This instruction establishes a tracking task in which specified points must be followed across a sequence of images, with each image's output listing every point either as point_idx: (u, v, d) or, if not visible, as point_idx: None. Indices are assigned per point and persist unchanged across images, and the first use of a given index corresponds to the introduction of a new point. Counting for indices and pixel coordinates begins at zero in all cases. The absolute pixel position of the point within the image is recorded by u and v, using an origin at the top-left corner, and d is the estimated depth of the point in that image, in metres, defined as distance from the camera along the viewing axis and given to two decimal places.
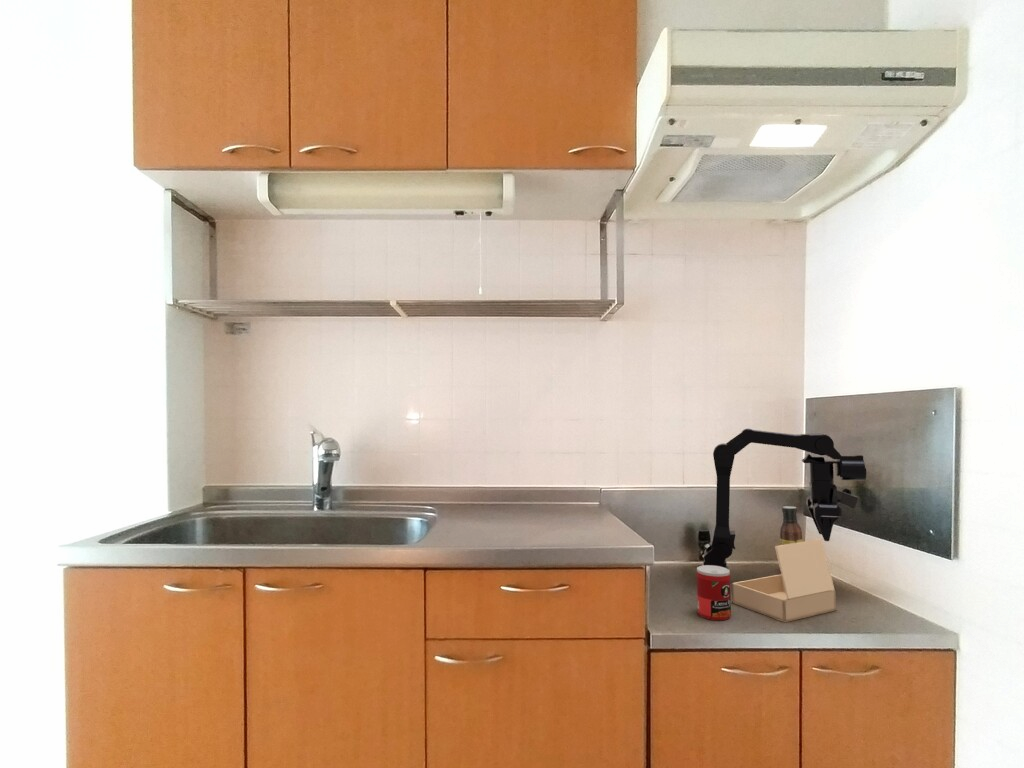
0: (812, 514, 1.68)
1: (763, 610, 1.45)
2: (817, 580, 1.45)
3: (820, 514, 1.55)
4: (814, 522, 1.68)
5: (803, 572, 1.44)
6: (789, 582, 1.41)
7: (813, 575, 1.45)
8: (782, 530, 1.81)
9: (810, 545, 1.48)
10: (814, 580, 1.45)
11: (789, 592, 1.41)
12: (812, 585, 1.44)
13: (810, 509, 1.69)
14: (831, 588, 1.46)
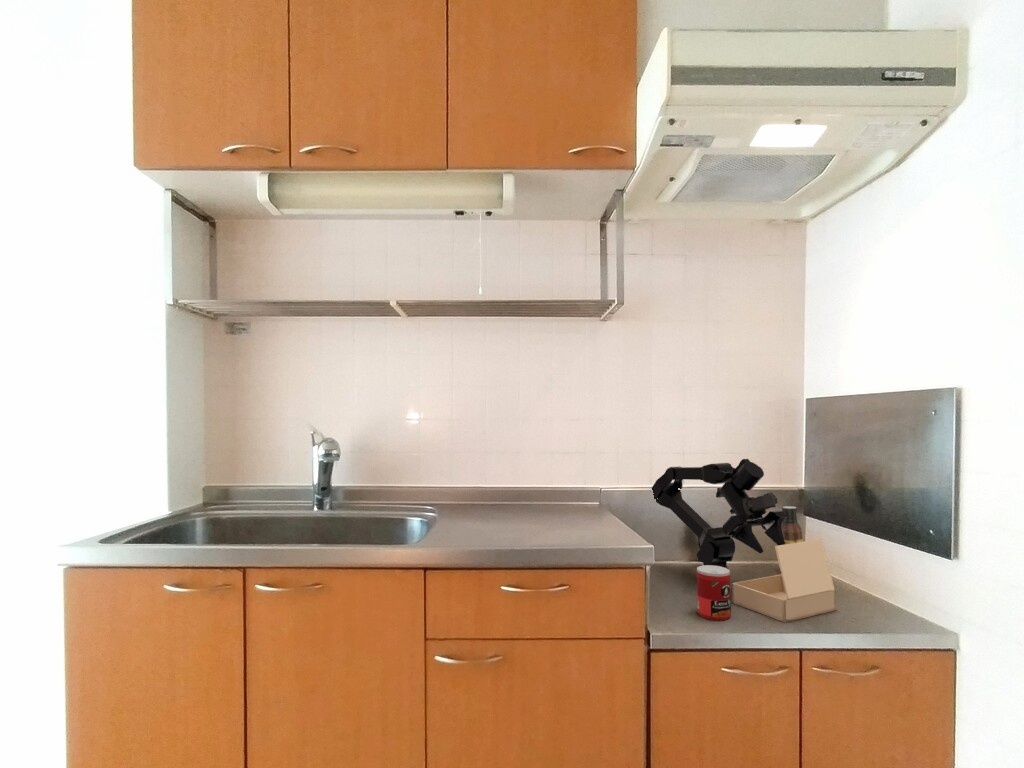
0: (769, 535, 1.60)
1: (763, 610, 1.45)
2: (817, 580, 1.45)
3: (726, 533, 1.56)
4: None
5: (803, 572, 1.44)
6: (789, 582, 1.41)
7: (813, 575, 1.45)
8: (782, 530, 1.81)
9: (810, 545, 1.48)
10: (814, 580, 1.45)
11: (789, 592, 1.41)
12: (812, 585, 1.44)
13: (765, 532, 1.62)
14: (831, 588, 1.46)
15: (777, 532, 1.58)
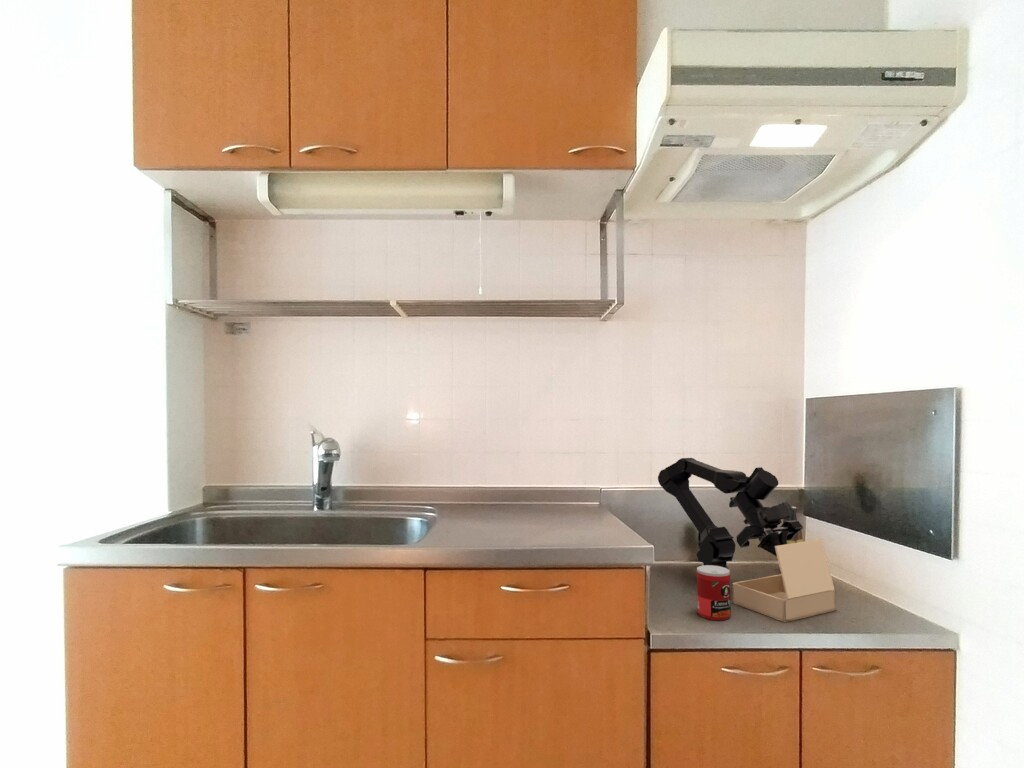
0: None
1: (763, 610, 1.45)
2: (817, 580, 1.45)
3: (740, 544, 1.51)
4: None
5: (803, 572, 1.44)
6: (789, 582, 1.41)
7: (813, 575, 1.45)
8: None
9: (810, 545, 1.48)
10: (814, 580, 1.45)
11: (789, 592, 1.41)
12: (812, 585, 1.44)
13: None
14: (831, 588, 1.46)
15: (782, 544, 1.52)
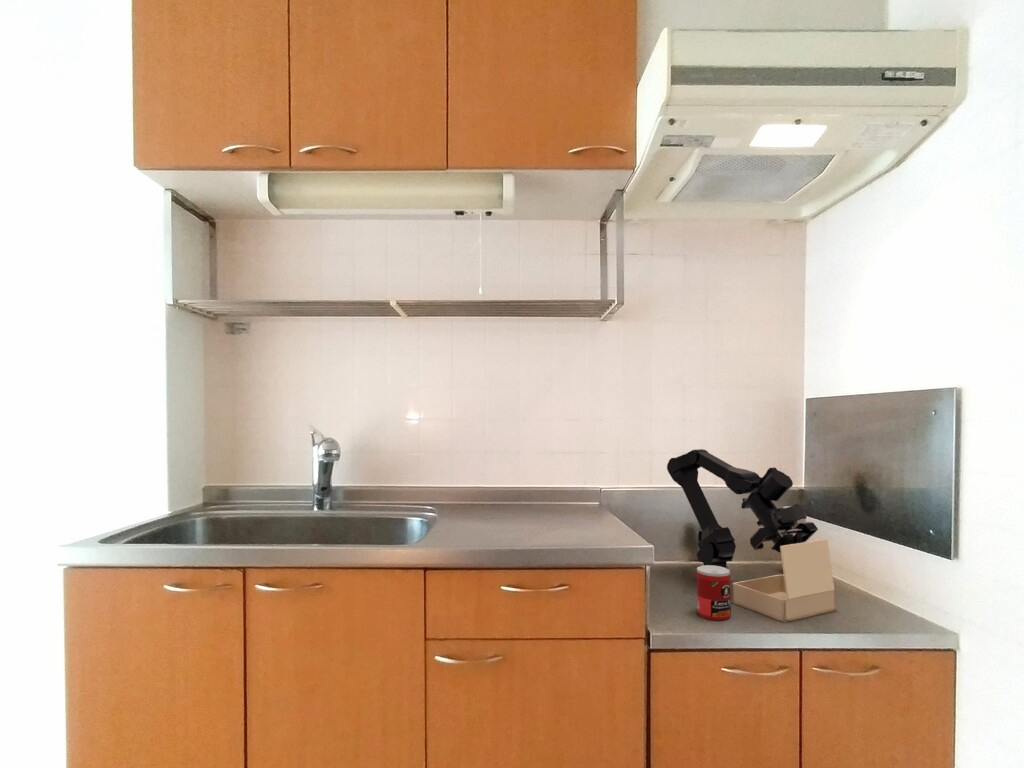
0: None
1: (763, 610, 1.45)
2: (818, 580, 1.45)
3: (754, 546, 1.47)
4: None
5: (806, 573, 1.44)
6: (791, 582, 1.41)
7: (815, 575, 1.45)
8: None
9: (816, 545, 1.47)
10: (815, 580, 1.45)
11: (790, 592, 1.40)
12: (813, 585, 1.44)
13: None
14: (831, 588, 1.46)
15: None
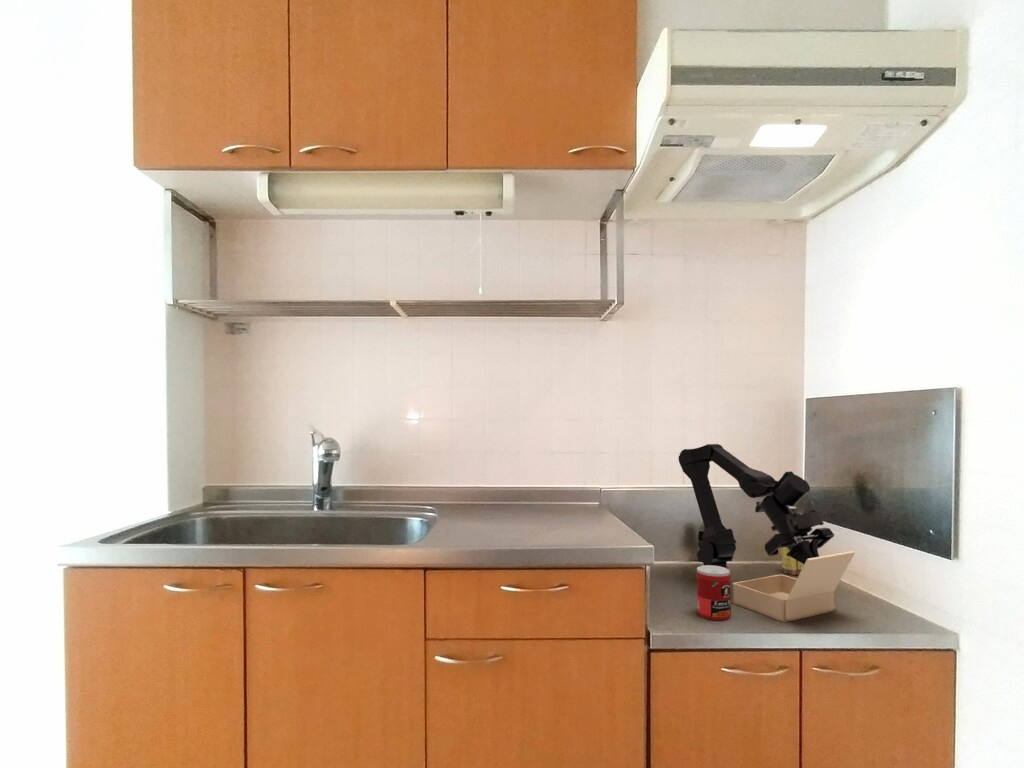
0: None
1: (763, 610, 1.45)
2: (824, 585, 1.44)
3: (769, 552, 1.43)
4: None
5: (817, 580, 1.41)
6: (798, 588, 1.39)
7: (824, 581, 1.43)
8: None
9: (841, 558, 1.41)
10: (822, 585, 1.43)
11: (792, 595, 1.40)
12: (817, 589, 1.43)
13: None
14: (832, 590, 1.46)
15: (813, 554, 1.44)
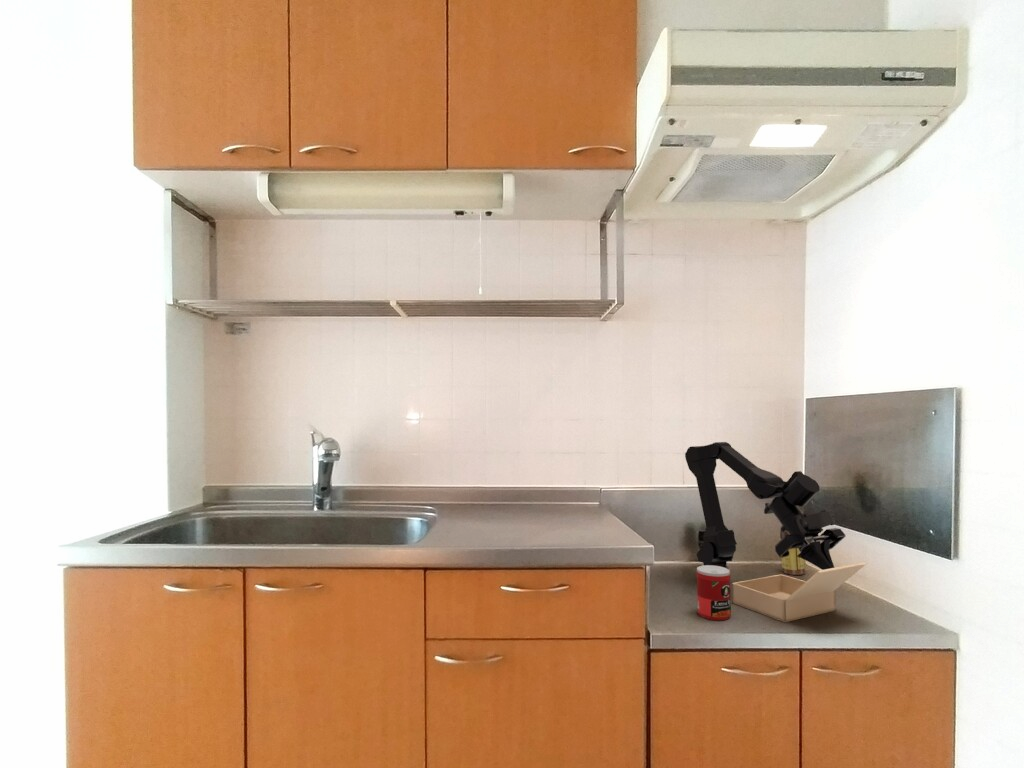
0: None
1: (763, 610, 1.45)
2: (826, 588, 1.43)
3: (780, 554, 1.41)
4: None
5: (821, 585, 1.40)
6: (801, 592, 1.39)
7: (827, 585, 1.42)
8: None
9: (850, 569, 1.38)
10: (824, 588, 1.43)
11: (793, 597, 1.39)
12: (818, 591, 1.43)
13: None
14: None
15: (824, 554, 1.41)
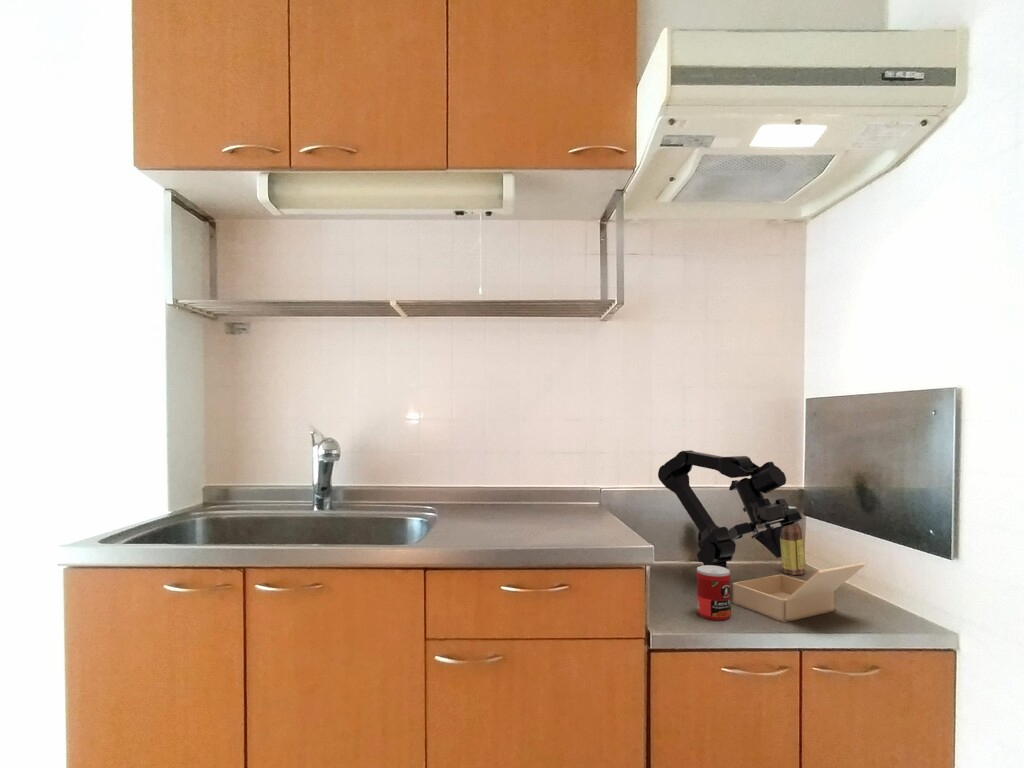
0: None
1: (763, 610, 1.45)
2: (826, 588, 1.43)
3: (731, 538, 1.57)
4: None
5: (821, 585, 1.40)
6: (801, 592, 1.39)
7: (827, 585, 1.42)
8: (782, 530, 1.81)
9: (850, 569, 1.38)
10: (824, 588, 1.43)
11: (793, 597, 1.39)
12: (818, 591, 1.43)
13: None
14: None
15: (774, 539, 1.55)
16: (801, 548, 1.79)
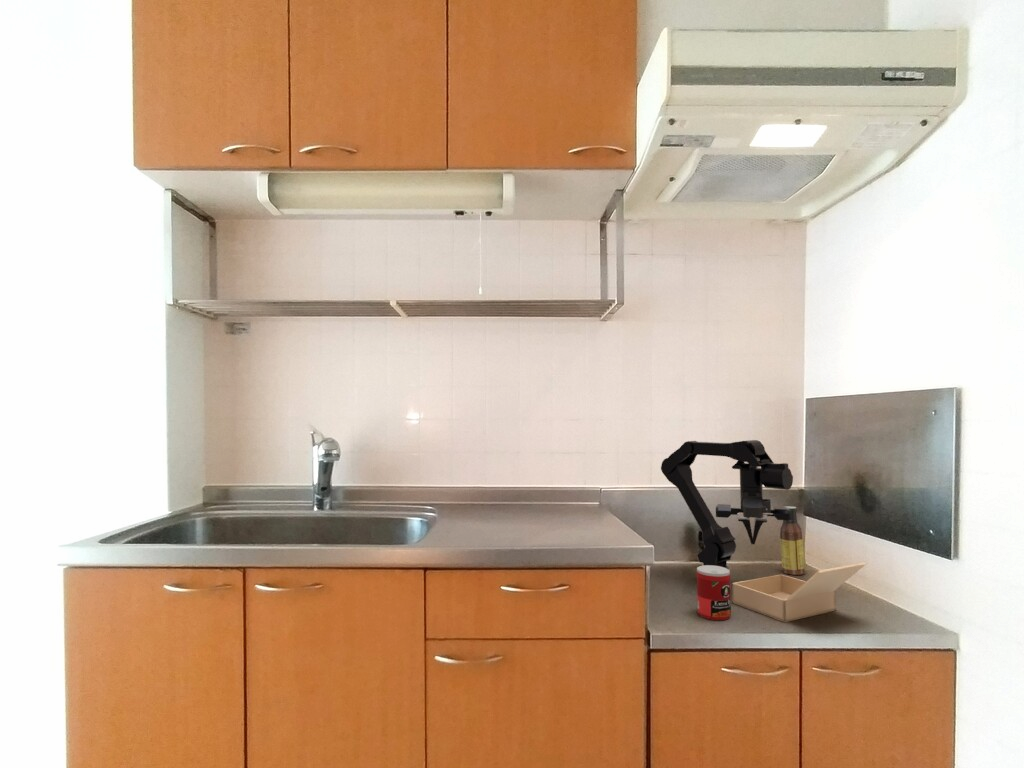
0: None
1: (763, 610, 1.45)
2: (826, 588, 1.43)
3: None
4: (753, 531, 1.65)
5: (821, 585, 1.40)
6: (801, 592, 1.39)
7: (827, 585, 1.42)
8: (782, 530, 1.81)
9: (850, 569, 1.38)
10: (824, 588, 1.43)
11: (793, 597, 1.39)
12: (818, 591, 1.43)
13: (754, 518, 1.65)
14: None
15: (754, 528, 1.62)
16: (801, 548, 1.79)
